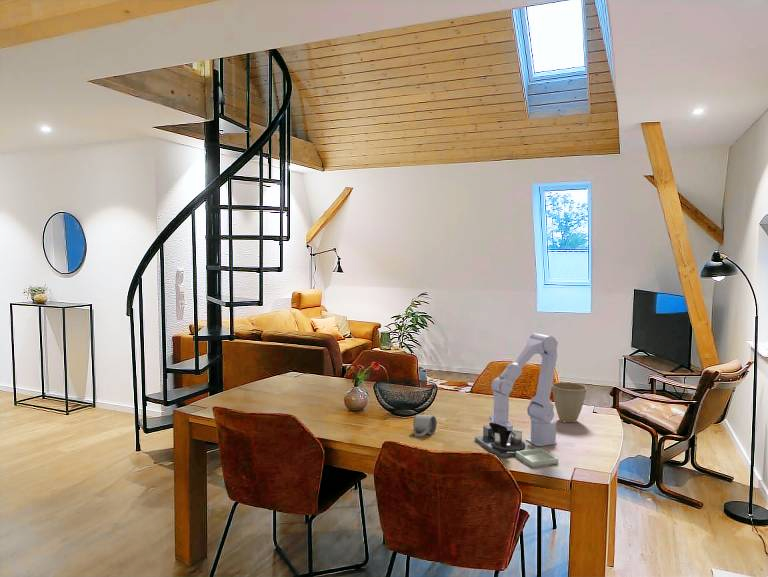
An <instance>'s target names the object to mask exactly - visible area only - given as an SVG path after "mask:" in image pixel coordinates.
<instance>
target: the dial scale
mask: <svg viewBox="0 0 768 577" xmlns="http://www.w3.org/2000/svg"><path fill="white" fill-rule="evenodd" d="M482 427H483V430H482V431H483V432H482V435H481V436H474V441H475V442H476V443H477V444H478V445H479V446H480V445H481V446H482V447H483V448H485V449H486V450H488V451H489V452H491V453H492V454H493V453H494V454H493V455H495V456H496V455H497V456H498V457H497V456H496V457H497V458H499V459H503V458H511V457H516V451H524V450H531V449H536V448H535V447H534V446H532V445H530V444H528V443H527V442H525V441H523V440H522V443H521V444H513V443H511V442H510V435H511V434H510V435H509V438H508V441H507V445H505V446H497V445H495V441H494V437H493V432H492V429H491V427H490V425H489V424H487V425H483V426H482Z"/></svg>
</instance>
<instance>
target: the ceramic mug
mask: <svg viewBox="0 0 768 577" xmlns="http://www.w3.org/2000/svg"><path fill="white" fill-rule="evenodd" d="M412 425H413V426H412V427H413V430H412V433H413V435H414V436H415V437H419V438H421V437H424V436H426V435H427V434H428V435H433V434H435V432H436V430H437V425H438V424H437V417H436V416H435V415H430V414H429V415H428V414H417V415H416V416H415V417H414V419H413V423H412ZM416 432H418V433H416Z"/></svg>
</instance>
